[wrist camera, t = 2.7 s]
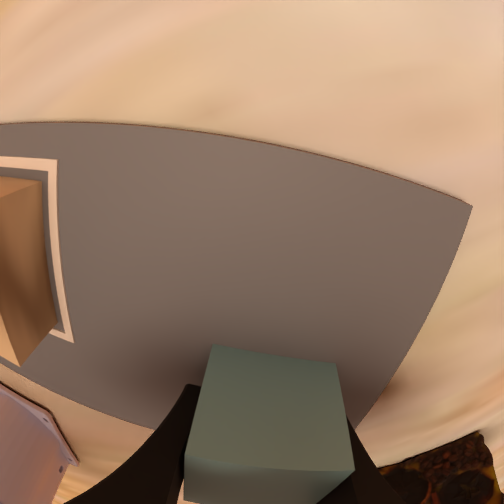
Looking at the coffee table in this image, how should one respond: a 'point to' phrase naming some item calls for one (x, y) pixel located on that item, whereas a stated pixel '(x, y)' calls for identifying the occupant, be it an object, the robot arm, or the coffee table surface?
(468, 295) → the coffee table surface
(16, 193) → the oak block
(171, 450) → the robot arm
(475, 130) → the coffee table surface
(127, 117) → the coffee table surface
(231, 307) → the grey mat
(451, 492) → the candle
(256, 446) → the teal block
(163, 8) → the coffee table surface
